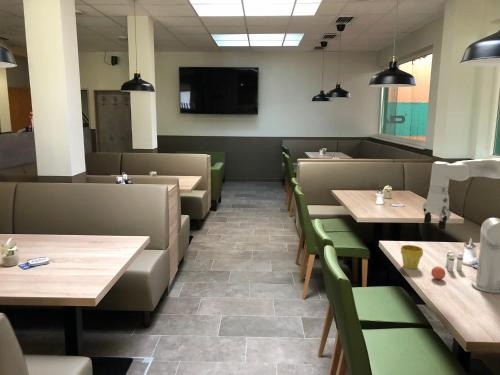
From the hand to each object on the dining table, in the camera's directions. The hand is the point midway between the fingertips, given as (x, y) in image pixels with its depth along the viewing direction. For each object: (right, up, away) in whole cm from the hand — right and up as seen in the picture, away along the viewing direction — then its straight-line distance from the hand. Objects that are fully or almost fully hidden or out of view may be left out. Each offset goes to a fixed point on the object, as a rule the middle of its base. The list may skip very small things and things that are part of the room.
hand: (434, 226), depth 185 cm
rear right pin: (+20, -23, +16) cm, 35 cm away
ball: (+4, -22, +4) cm, 23 cm away
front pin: (+15, -24, +15) cm, 32 cm away
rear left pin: (+16, -23, +20) cm, 34 cm away
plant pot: (-3, -23, +20) cm, 30 cm away
